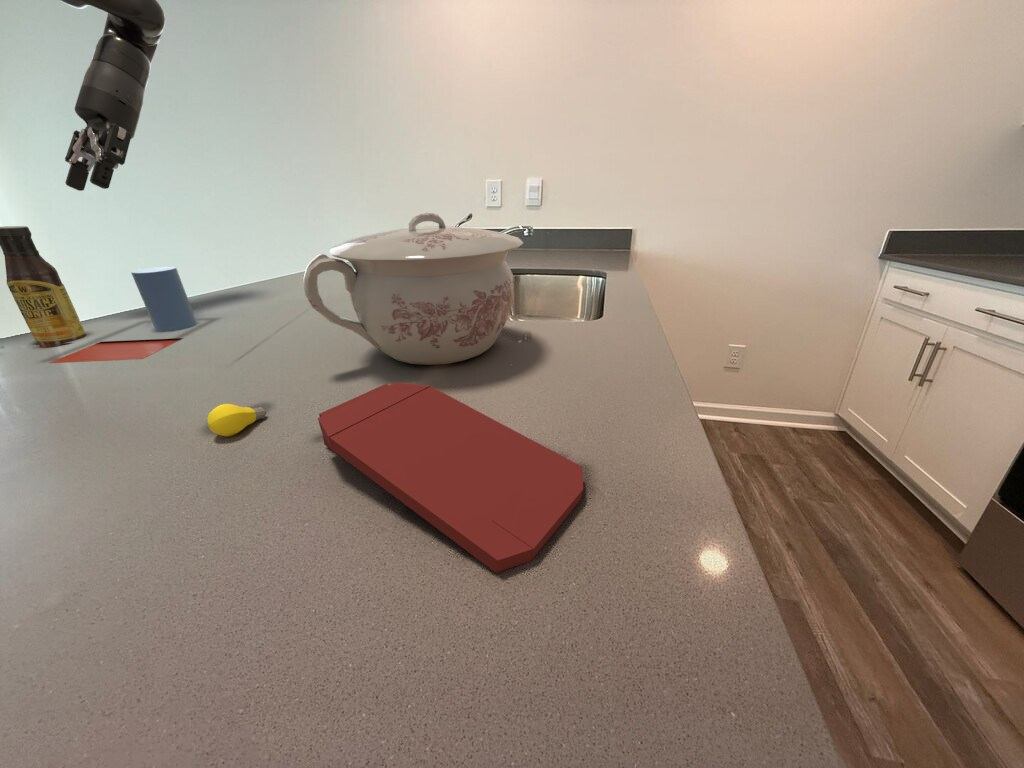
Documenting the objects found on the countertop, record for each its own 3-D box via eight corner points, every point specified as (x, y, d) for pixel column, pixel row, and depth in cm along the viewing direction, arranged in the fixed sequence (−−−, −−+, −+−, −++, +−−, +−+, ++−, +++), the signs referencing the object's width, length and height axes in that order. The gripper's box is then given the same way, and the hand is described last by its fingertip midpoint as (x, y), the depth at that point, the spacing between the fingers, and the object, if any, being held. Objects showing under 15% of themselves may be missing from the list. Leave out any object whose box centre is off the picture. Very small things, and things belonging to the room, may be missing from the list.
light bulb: (204, 441, 43) (196, 408, 43) (259, 428, 49) (252, 399, 48) (223, 438, 42) (215, 404, 41) (277, 425, 47) (270, 395, 47)
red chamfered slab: (584, 512, 37) (401, 404, 49) (596, 473, 35) (399, 369, 46) (506, 614, 29) (305, 454, 40) (514, 572, 26) (297, 413, 38)
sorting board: (50, 367, 63) (47, 363, 63) (145, 328, 81) (143, 324, 81) (144, 363, 64) (142, 358, 64) (218, 324, 82) (216, 321, 81)
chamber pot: (529, 324, 77) (528, 206, 68) (516, 389, 53) (513, 217, 44) (387, 323, 80) (369, 209, 71) (313, 384, 56) (270, 222, 47)
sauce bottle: (31, 353, 69) (-41, 229, 60) (57, 341, 74) (-6, 226, 66) (77, 349, 71) (14, 227, 62) (99, 337, 76) (44, 224, 67)
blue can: (147, 334, 75) (121, 273, 70) (171, 324, 80) (148, 267, 75) (184, 333, 75) (160, 272, 70) (204, 322, 81) (184, 265, 76)
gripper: (63, 89, 71) (36, 176, 70) (105, 76, 65) (77, 170, 64) (117, 121, 78) (93, 200, 76) (159, 112, 72) (135, 198, 71)
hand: (86, 187), depth 70 cm, fingers open, 8 cm apart
